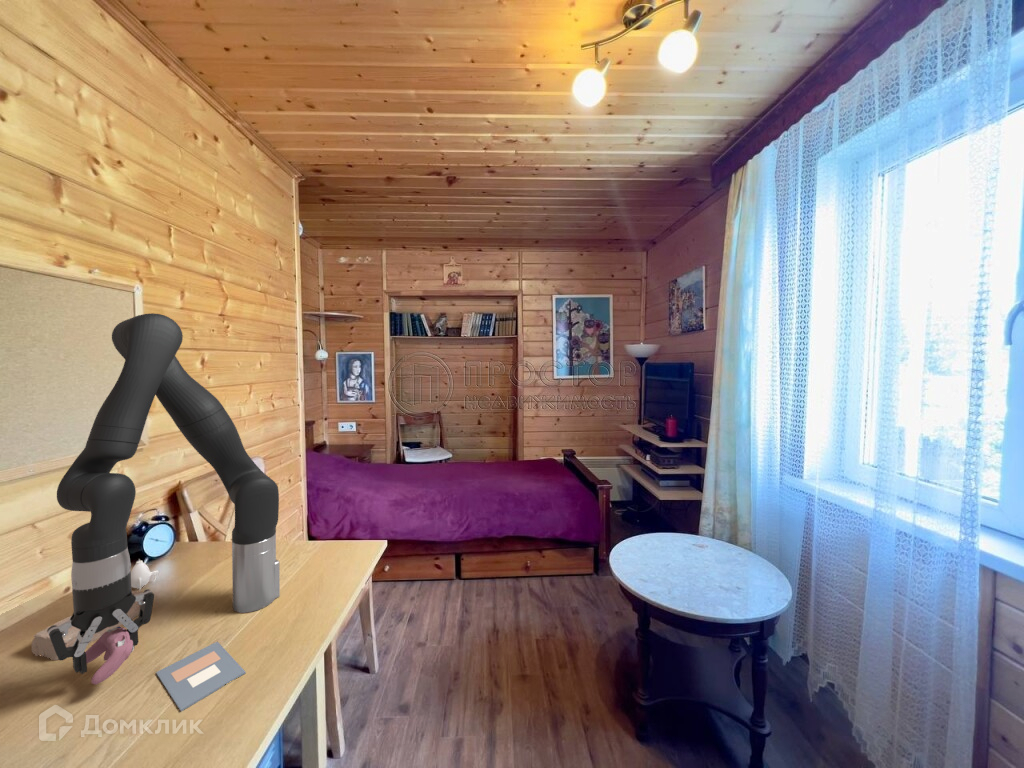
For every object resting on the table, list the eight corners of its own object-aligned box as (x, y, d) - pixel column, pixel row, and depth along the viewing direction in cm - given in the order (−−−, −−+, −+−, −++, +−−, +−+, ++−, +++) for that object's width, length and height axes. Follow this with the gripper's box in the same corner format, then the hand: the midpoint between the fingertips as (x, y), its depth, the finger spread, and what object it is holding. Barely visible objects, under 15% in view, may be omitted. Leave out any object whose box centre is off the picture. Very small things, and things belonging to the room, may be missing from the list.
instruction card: (217, 642, 82) (217, 641, 82) (245, 673, 74) (245, 671, 74) (156, 673, 73) (156, 671, 73) (180, 711, 66) (180, 709, 66)
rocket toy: (139, 581, 103) (139, 553, 103) (159, 581, 103) (159, 553, 103) (119, 593, 98) (118, 563, 97) (140, 593, 98) (139, 564, 97)
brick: (60, 662, 76) (59, 640, 76) (28, 655, 77) (28, 634, 77) (151, 610, 92) (151, 591, 92) (124, 605, 93) (123, 587, 93)
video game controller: (122, 681, 70) (143, 639, 72) (89, 687, 66) (112, 643, 69) (107, 658, 75) (127, 619, 77) (76, 662, 72) (98, 622, 74)
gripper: (147, 553, 79) (151, 629, 80) (38, 588, 67) (44, 677, 68) (159, 564, 75) (163, 644, 76) (46, 604, 63) (52, 697, 64)
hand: (107, 659), depth 72 cm, fingers closed on video game controller, 5 cm apart
